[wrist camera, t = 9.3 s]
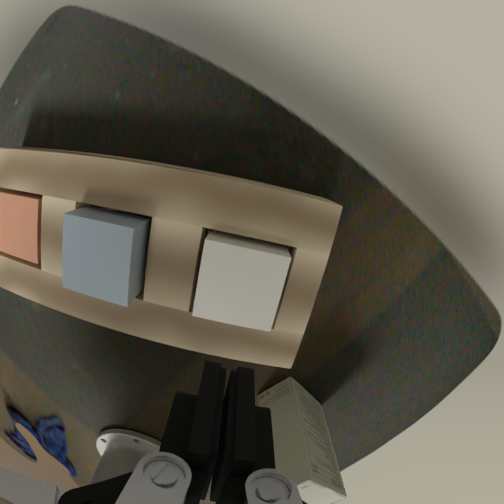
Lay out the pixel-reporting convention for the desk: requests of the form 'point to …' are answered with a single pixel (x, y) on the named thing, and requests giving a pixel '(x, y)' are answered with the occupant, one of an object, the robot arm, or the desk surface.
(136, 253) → the slate key
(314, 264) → the key console
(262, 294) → the offwhite key
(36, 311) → the desk surface
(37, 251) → the terracotta key
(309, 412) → the skincare box
